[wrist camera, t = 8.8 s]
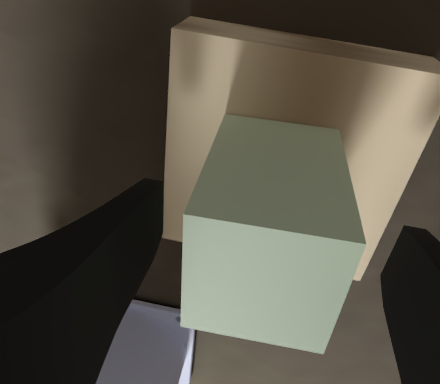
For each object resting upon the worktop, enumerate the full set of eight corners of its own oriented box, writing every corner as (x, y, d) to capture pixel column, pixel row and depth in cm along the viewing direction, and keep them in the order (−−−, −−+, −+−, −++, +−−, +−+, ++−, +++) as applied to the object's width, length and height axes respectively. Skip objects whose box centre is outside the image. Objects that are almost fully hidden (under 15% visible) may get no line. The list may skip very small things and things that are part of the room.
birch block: (179, 200, 20) (161, 237, 17) (193, 14, 15) (171, 28, 12) (352, 237, 19) (359, 281, 16) (430, 54, 14) (457, 77, 11)
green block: (217, 205, 16) (180, 326, 11) (224, 113, 13) (183, 214, 8) (314, 220, 15) (323, 354, 10) (339, 129, 13) (366, 244, 8)
